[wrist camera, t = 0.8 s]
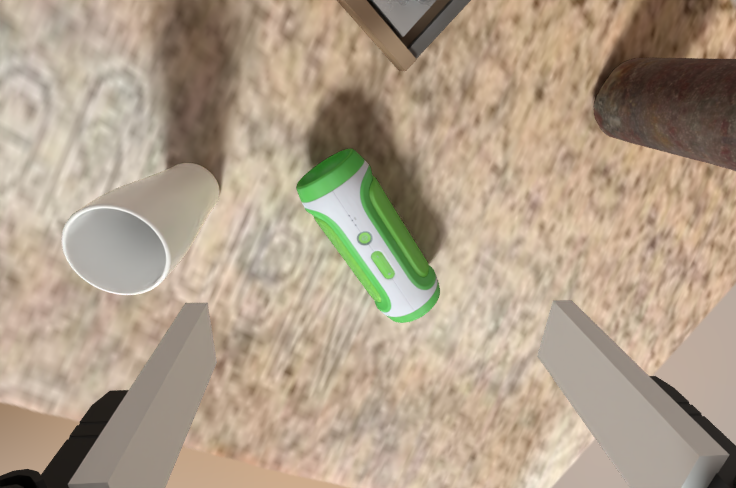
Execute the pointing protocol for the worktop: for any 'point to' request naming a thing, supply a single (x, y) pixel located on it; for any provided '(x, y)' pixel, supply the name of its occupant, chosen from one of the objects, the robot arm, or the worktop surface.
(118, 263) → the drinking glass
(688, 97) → the candle
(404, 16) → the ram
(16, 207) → the worktop surface
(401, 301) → the speaker
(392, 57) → the base
